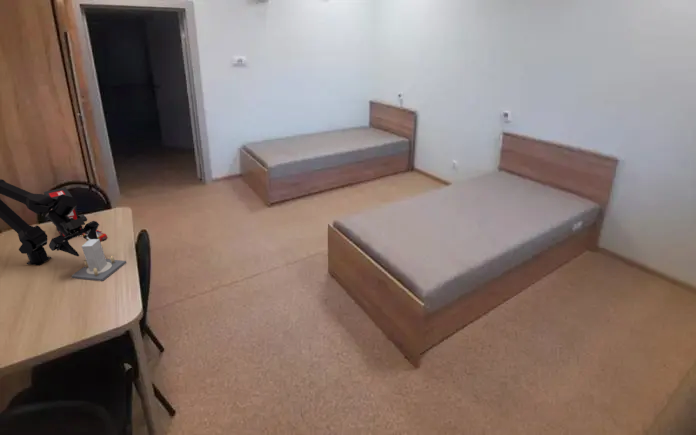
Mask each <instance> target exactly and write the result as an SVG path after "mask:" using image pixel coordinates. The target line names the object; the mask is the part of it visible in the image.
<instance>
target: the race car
mask: <svg viewBox="0 0 696 435" xmlns="http://www.w3.org/2000/svg"><path fill="white" fill-rule="evenodd" d="M96 232H97V234H98V236H99V239H100V242H103V241H105V240H107V239H108V234H106V233H104V232H102V230H101V231H100V230H98V229H97V230H96ZM81 236H82V237H83V238H84V239H86V240H87V235H86V234H85V233H83V234H82V235H81Z"/></svg>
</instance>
